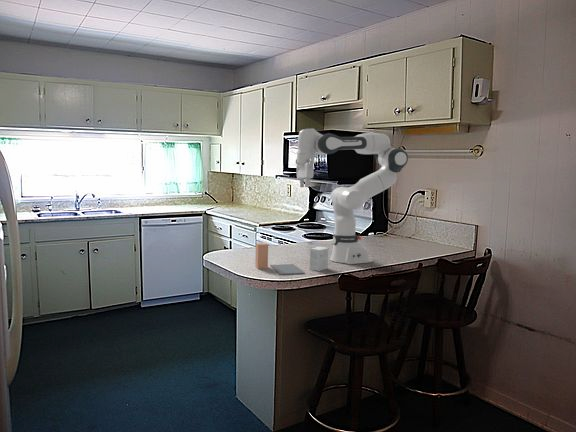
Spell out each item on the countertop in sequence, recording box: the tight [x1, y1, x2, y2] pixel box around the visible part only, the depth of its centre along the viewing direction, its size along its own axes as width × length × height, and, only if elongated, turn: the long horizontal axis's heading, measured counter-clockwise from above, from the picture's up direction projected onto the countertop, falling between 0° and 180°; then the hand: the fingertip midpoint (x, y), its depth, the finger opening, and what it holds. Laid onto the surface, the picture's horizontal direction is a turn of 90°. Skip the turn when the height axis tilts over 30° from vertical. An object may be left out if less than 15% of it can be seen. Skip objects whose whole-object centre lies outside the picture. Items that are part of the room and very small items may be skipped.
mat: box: [269, 263, 306, 276], centre depth 236 cm, size 12×18×1 cm, turn 17°
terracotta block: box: [254, 241, 269, 270], centre depth 239 cm, size 5×5×12 cm
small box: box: [309, 246, 329, 272], centre depth 239 cm, size 8×6×10 cm
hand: (304, 187), depth 248 cm, fingers open, 8 cm apart
